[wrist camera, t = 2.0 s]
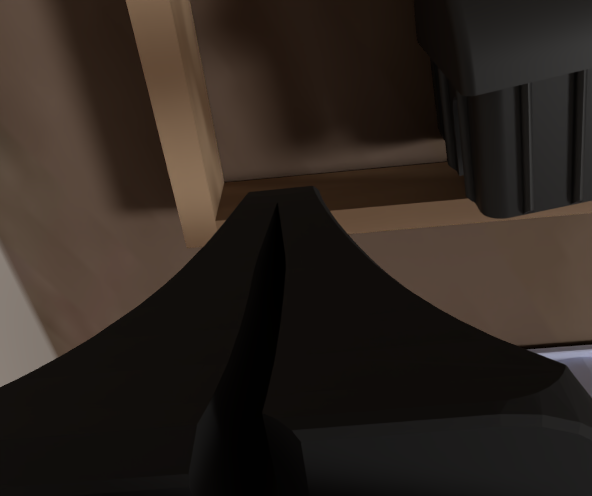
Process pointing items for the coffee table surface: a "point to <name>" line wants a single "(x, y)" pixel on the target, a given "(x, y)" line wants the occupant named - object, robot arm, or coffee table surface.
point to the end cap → (513, 98)
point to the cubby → (333, 186)
